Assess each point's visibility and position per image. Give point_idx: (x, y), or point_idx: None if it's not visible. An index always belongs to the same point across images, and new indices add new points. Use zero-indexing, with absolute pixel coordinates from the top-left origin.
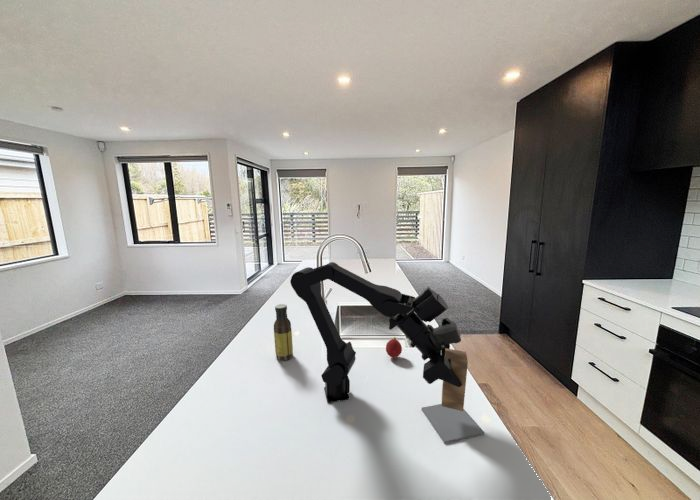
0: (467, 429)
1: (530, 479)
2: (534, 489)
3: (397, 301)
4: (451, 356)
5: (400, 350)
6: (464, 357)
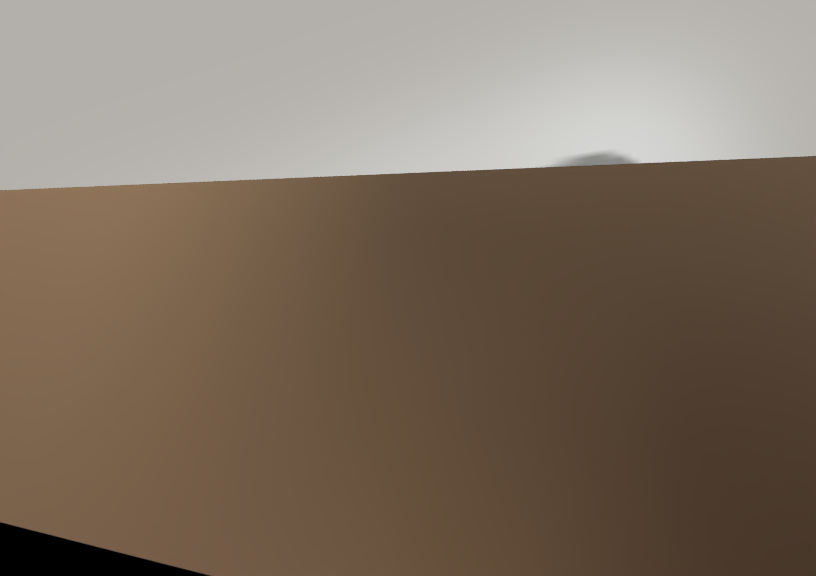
0: None
1: (582, 165)
2: (624, 160)
3: None
4: None
5: None
6: (692, 274)
